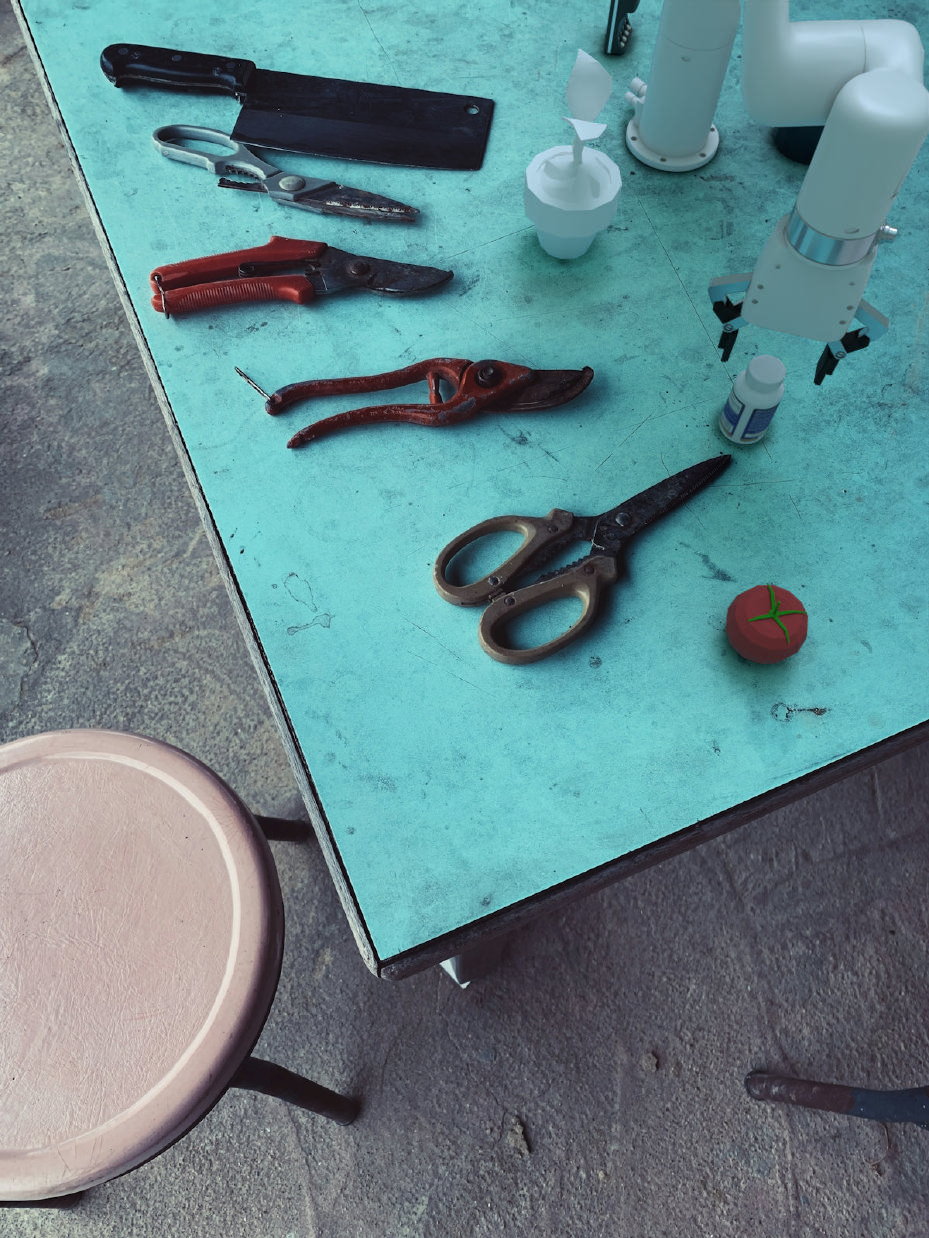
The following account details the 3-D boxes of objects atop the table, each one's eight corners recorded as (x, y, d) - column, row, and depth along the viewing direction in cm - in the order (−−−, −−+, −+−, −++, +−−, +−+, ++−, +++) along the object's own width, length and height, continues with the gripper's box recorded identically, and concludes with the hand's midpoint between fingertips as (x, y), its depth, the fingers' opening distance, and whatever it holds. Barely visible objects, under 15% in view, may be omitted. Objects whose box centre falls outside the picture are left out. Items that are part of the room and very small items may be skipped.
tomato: (788, 604, 96) (814, 568, 89) (801, 673, 92) (829, 641, 86) (711, 605, 96) (731, 569, 89) (722, 674, 92) (744, 643, 85)
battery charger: (627, 59, 135) (642, -24, 125) (602, 54, 135) (614, -29, 125) (637, 31, 138) (653, -52, 128) (613, 26, 138) (626, -57, 128)
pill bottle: (771, 417, 107) (799, 359, 98) (757, 452, 104) (785, 395, 96) (726, 402, 107) (750, 342, 99) (711, 435, 105) (735, 378, 97)
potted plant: (527, 205, 121) (544, 8, 99) (615, 218, 120) (652, 23, 98) (509, 274, 116) (523, 83, 93) (601, 289, 115) (638, 99, 92)
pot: (757, 137, 128) (777, 78, 120) (805, 107, 131) (826, 47, 123) (813, 175, 125) (837, 117, 117) (860, 143, 127) (886, 84, 120)
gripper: (936, 221, 81) (860, 358, 96) (741, 178, 83) (697, 318, 99) (929, 279, 78) (851, 412, 93) (726, 233, 80) (682, 370, 95)
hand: (771, 363), depth 96 cm, fingers open, 9 cm apart
